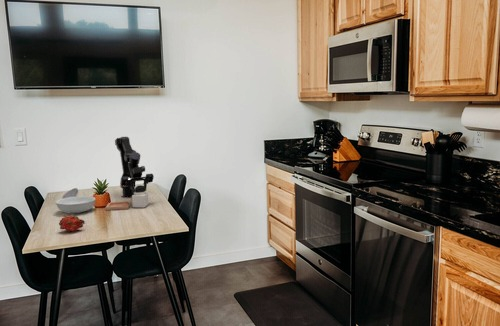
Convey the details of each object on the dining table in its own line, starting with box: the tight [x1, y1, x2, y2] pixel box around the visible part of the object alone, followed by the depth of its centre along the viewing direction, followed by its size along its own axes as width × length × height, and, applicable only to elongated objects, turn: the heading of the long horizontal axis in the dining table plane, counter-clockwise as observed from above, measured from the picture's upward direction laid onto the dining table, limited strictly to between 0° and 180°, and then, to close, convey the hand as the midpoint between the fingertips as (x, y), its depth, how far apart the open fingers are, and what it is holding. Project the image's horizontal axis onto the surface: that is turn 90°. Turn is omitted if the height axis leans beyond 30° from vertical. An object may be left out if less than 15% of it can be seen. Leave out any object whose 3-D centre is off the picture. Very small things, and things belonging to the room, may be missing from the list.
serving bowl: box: [55, 195, 96, 214], centre depth 244 cm, size 21×21×7 cm
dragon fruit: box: [58, 215, 86, 233], centre depth 206 cm, size 8×8×12 cm
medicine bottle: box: [131, 184, 149, 208], centre depth 250 cm, size 7×7×12 cm
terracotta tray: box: [105, 200, 132, 212], centre depth 250 cm, size 12×12×2 cm
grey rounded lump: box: [61, 187, 79, 199], centre depth 267 cm, size 11×10×10 cm
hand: (140, 191), depth 248 cm, fingers closed on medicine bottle, 6 cm apart
